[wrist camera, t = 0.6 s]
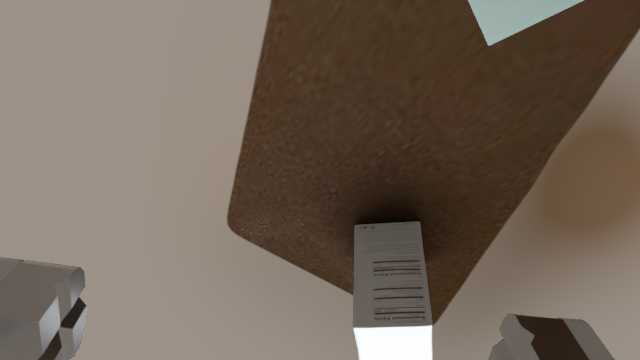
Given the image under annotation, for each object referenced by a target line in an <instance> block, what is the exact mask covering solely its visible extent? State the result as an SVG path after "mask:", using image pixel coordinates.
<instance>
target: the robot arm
mask: <svg viewBox="0 0 640 360" xmlns="http://www.w3.org/2000/svg"><path fill="white" fill-rule="evenodd" d="M84 287H85V277H84V271H83V270H82V269H81V267H76V266H67V265H61V264H52V263H45V262H37V261H29V260H25V261H24V260H20V259H12V258H2V257H0V360H69V359H71V358H72V357H74V356H75V354H76V352H77V350H78V348H79V346H80V344H81V341H82V338H83V334H84V331H85V326H86V317H87V315H86V314H87V312H86V305H85V304H84V302H83V301H82V300H81V299H80V297H79V296H80V294H81V292H82V291H83V289H84ZM499 330H500V332H501V335H502V337H503V340H501V341H500V342H499V343H497V344H496V345H495V346H493V348H492V351H491V354H490V357H489V360H614V358H613V357H612V355H611V354H610V353H609V351H608V350H607V348H606V347H605V346H604V344H603V343H602V342H601V340H600V339H599V337H598V336H597V335H596V334H595V332H594V331H593V329H592V328H591V326H590V325H589V324H588V323H587V322H585V321H583V320H580V319H566V318H546V317H536V316H527V315H517V314H507V316H506V317H505V318H504V319H503V321H502V324H501V326H500V329H499Z"/></svg>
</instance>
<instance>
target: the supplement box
mask: <svg viewBox="0 0 640 360" xmlns="http://www.w3.org/2000/svg"><path fill="white" fill-rule="evenodd" d="M354 276H355V278H354V296H353V297H354V298H353V330H354V334H355V338H356V343H357V348H358V354H359V360H433V341H432V316H431V308H430V300H429V292H428V284H427V275H426V267H425V259H424V251H423V242H422V234H421V225H420V222H419V221H416V222H397V223H379V224H361V225H355V226H354Z"/></svg>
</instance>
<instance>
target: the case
mask: <svg viewBox="0 0 640 360" xmlns="http://www.w3.org/2000/svg"><path fill="white" fill-rule="evenodd" d="M468 1H469V3H470V6H471V8H472V10H473V12H474V14H475V17H476V19H477V21H478V23H479V26H480V28H481V30H482V32H483V35H484V37H485V39H486V41H487V43H488V46H490V45H492V44H494V43H496V42H498V41H500V40H502V39H504V38H506V37H508V36H511V35H513V34H515V33H517V32H519V31H521V30H523V29H525V28H527V27H529V26H531V25H533V24H536V23H538V22H540V21H542V20H544V19H546V18H548V17H550V16H552V15H554V14H556V13H559V12H561V11H563V10H565V9H567V8H569V7H571V6H573V5H575V4H577V3H579V2H581V1H584V0H468Z"/></svg>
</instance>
